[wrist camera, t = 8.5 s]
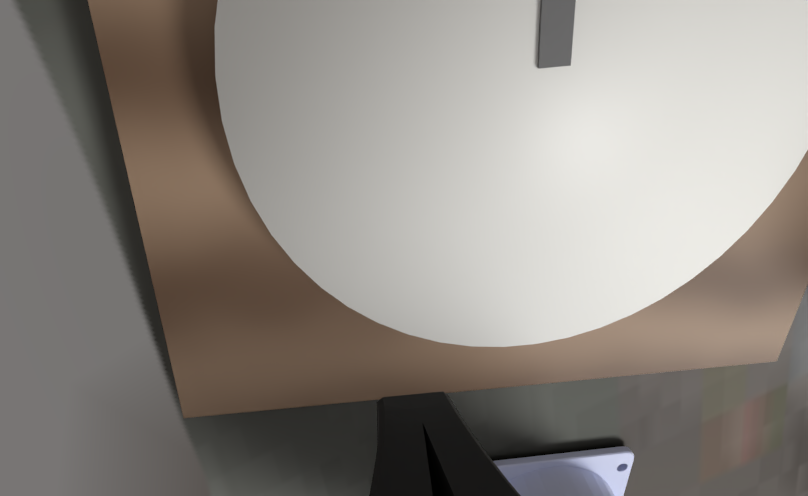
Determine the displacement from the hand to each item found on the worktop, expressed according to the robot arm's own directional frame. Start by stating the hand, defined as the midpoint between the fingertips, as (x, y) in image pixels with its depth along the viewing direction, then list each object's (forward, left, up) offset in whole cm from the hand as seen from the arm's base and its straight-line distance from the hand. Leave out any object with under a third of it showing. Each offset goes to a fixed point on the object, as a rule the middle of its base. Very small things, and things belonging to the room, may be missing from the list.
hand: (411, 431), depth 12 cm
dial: (+5, -5, -8) cm, 11 cm away
